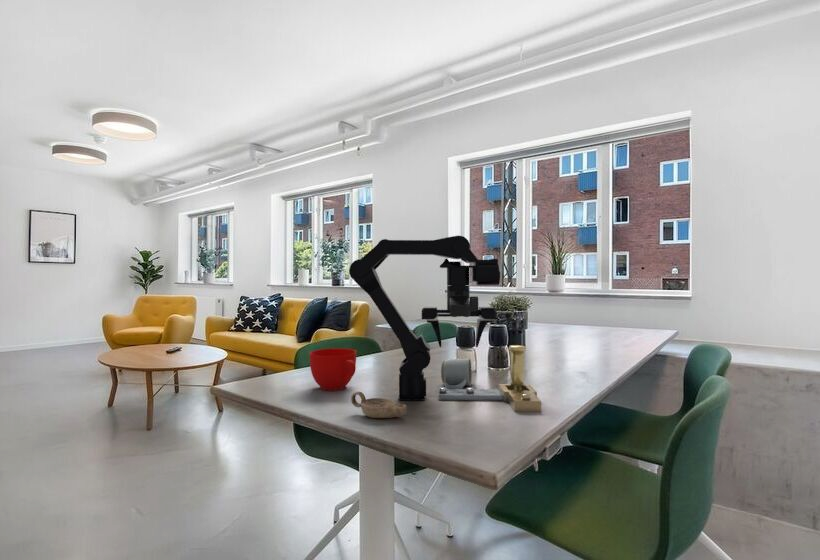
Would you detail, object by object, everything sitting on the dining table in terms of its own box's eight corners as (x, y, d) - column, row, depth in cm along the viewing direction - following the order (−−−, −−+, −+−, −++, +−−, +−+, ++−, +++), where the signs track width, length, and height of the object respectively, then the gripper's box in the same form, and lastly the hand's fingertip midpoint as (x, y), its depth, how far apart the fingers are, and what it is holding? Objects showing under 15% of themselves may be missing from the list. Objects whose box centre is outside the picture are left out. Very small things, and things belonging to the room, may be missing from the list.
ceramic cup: (332, 399, 109) (332, 360, 109) (301, 387, 122) (301, 351, 122) (374, 390, 118) (373, 354, 118) (340, 380, 131) (340, 346, 131)
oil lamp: (411, 415, 97) (411, 392, 97) (396, 425, 90) (396, 401, 90) (361, 408, 103) (360, 387, 103) (343, 417, 96) (343, 394, 96)
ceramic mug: (444, 381, 129) (444, 355, 129) (472, 382, 127) (471, 356, 127) (438, 390, 119) (438, 362, 118) (468, 392, 117) (468, 363, 117)
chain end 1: (439, 400, 108) (439, 392, 108) (438, 392, 116) (438, 384, 116) (536, 401, 107) (536, 392, 107) (529, 393, 115) (529, 384, 115)
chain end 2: (510, 411, 99) (510, 396, 99) (498, 392, 115) (498, 380, 115) (545, 411, 99) (545, 396, 99) (529, 393, 115) (529, 380, 115)
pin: (508, 398, 110) (508, 346, 110) (509, 394, 113) (510, 344, 114) (524, 399, 108) (524, 347, 108) (525, 396, 112) (526, 345, 112)
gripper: (421, 286, 103) (421, 352, 103) (500, 286, 102) (500, 352, 102) (421, 285, 114) (422, 345, 114) (493, 285, 113) (493, 345, 113)
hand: (458, 346), depth 111 cm, fingers open, 9 cm apart
